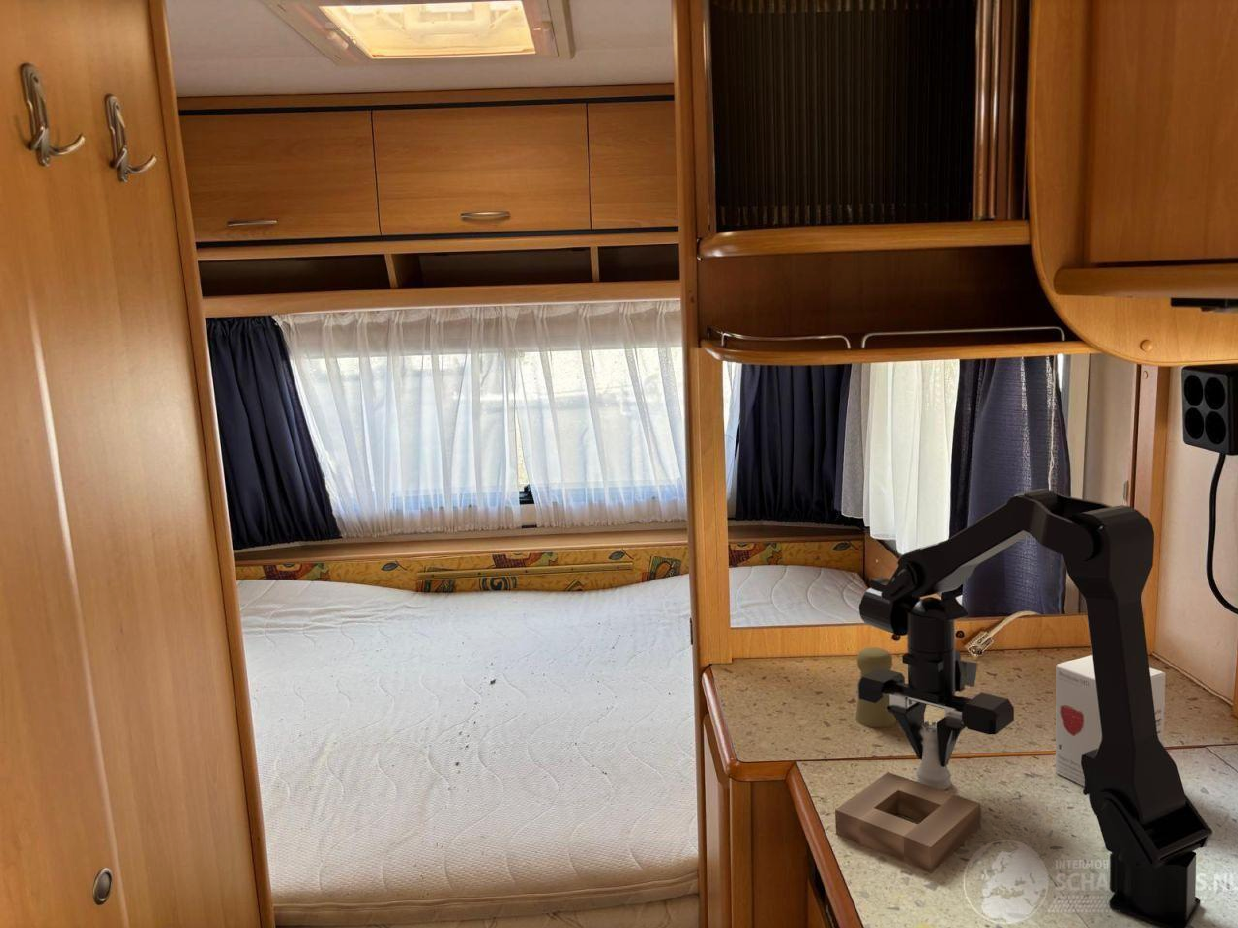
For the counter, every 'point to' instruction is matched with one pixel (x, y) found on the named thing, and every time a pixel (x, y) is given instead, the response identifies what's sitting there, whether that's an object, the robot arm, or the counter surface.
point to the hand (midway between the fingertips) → (933, 761)
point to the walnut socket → (912, 843)
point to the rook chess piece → (931, 760)
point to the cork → (877, 712)
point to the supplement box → (1088, 714)
